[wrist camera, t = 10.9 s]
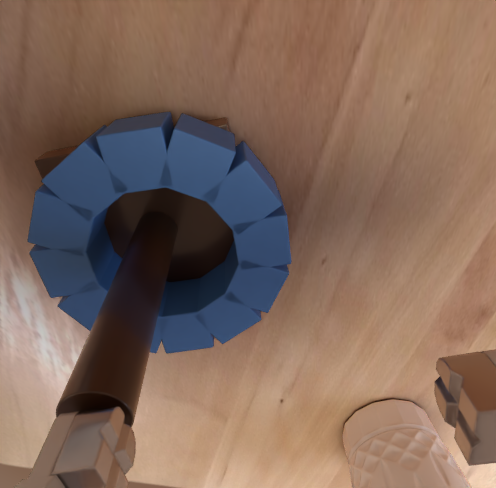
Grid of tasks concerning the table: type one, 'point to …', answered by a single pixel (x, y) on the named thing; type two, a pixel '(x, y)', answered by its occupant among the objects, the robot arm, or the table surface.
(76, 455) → the robot arm
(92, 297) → the ring
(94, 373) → the post
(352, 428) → the white cup
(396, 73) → the table surface
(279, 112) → the table surface
